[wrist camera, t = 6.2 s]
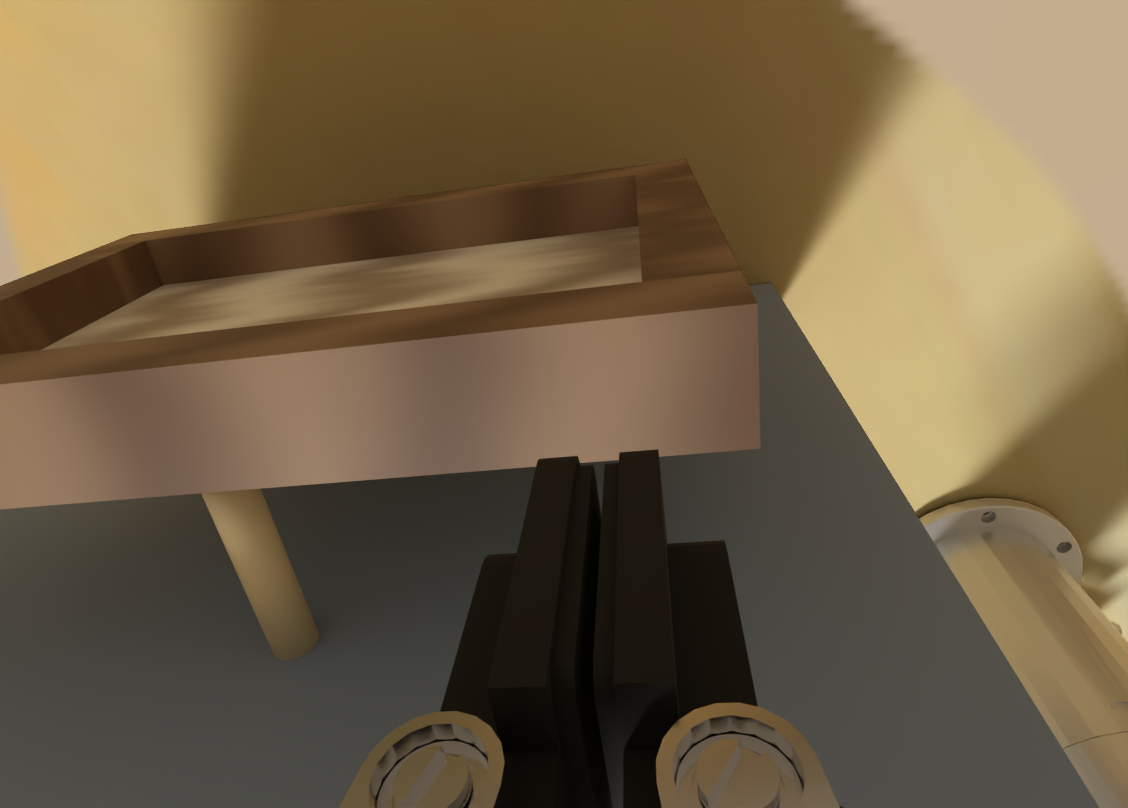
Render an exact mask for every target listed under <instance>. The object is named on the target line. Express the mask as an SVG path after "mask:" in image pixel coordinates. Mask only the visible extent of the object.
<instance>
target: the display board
mask: <svg viewBox="0 0 1128 808" xmlns="http://www.w3.org/2000/svg"><path fill="white" fill-rule="evenodd" d="M749 287H750V289H751V291H752V293H753V295H754V297H755V299H756V301H757V303H758V347H759V398H760V449H750V450H738V451H725V452H713V453H700V454H688V455H675V456H663V457H659V460H660V471H661V481H662V492H663V502H664V513H665V523H666V534H667V544H670V543H686V542H702V541H718V540H724V541H725V543H726V547H727V552H728V557H729V562H730V567H731V572H732V577H733V582H734V587H735V592H736V597H737V603H738V608H739V613H740V618H741V623H742V628H743V633H744V638H745V643H746V648H747V653H748V659H749V664H750V669H751V674H752V679H753V684H754V689H755V694H756V699H757V704H758V707H761V708H764V709H766V710H768V711H770V712H772V713H774V714H776V715H778V716H780V717H782V718H784V719H786V720H787V721H788V722H789V723H790V724H791V725H793V726H794V727H795V728H796V729H797V730H798V731H799V732H800V733H802V734H803V735H804V736H805V738H806V739H807V741H808V743H809V744H810V746H811V747H812V749H813V750H814V752H815V754H816V755H817V757H818V759H819V761H820V763H821V766H822V768H823V770H824V772H825V775H826V777H827V779H828V781H829V784H830V786H831V788H832V790H833V793H834V795H835V797H836V799H837V802H838V804H839V805H840V806H842V807H843V808H1099V806H1098V804H1097V803H1096V801H1095V800H1094V798H1093V796H1092V795H1091V793H1090V792H1089V790H1088V788H1087V787H1086V785H1085V784H1084V782H1083V780H1082V779H1081V777H1080V776H1079V774H1078V772H1077V771H1076V769H1075V768H1074V766H1073V764H1072V763H1071V761H1070V760H1069V758H1068V756H1067V755H1066V753H1065V752H1064V750H1063V748H1062V747H1061V745H1060V744H1059V742H1058V740H1057V739H1056V737H1055V736H1054V734H1053V732H1052V731H1051V729H1050V728H1049V726H1048V724H1047V723H1046V721H1045V720H1044V718H1043V716H1042V715H1041V713H1040V712H1039V710H1038V708H1037V707H1036V705H1035V704H1034V702H1033V700H1032V699H1031V697H1030V696H1029V694H1028V692H1027V691H1026V689H1025V688H1024V686H1023V684H1022V683H1021V681H1020V680H1019V678H1018V676H1017V675H1016V673H1015V672H1014V670H1013V668H1012V667H1011V665H1010V664H1009V662H1008V660H1007V659H1006V657H1005V656H1004V654H1003V652H1002V651H1001V649H1000V647H999V646H998V644H997V643H996V641H995V639H994V638H993V636H992V635H991V633H990V631H989V630H988V628H987V627H986V625H985V623H984V622H983V620H982V619H981V617H980V615H979V614H978V612H977V611H976V609H975V607H974V606H973V604H972V603H971V601H970V599H969V598H968V596H967V595H966V593H965V591H964V590H963V588H962V587H961V585H960V583H959V582H958V580H957V579H956V577H955V575H954V574H953V572H952V571H951V569H950V567H949V566H948V564H947V563H946V561H945V559H944V558H943V556H942V555H941V553H940V551H939V550H938V548H937V547H936V545H935V543H934V542H933V540H932V539H931V537H930V535H929V534H928V532H927V531H926V529H925V527H924V526H923V524H922V523H921V521H920V519H919V518H918V516H917V515H916V513H915V511H914V510H913V508H912V507H911V505H910V503H909V502H908V500H907V499H906V497H905V495H904V494H903V492H902V491H901V489H900V487H899V486H898V484H897V483H896V481H895V479H894V478H893V476H892V475H891V473H890V471H889V470H888V468H887V467H886V465H885V463H884V462H883V460H882V459H881V457H880V455H879V454H878V452H877V451H876V449H875V447H874V446H873V444H872V443H871V441H870V439H869V438H868V436H867V434H866V433H865V431H864V430H863V428H862V426H861V425H860V423H859V422H858V420H857V418H856V417H855V415H854V414H853V412H852V410H851V409H850V407H849V406H848V404H847V402H846V401H845V399H844V398H843V396H842V394H841V393H840V391H839V390H838V388H837V386H836V385H835V383H834V382H833V380H832V378H831V377H830V375H829V374H828V372H827V370H826V369H825V367H824V366H823V364H822V362H821V361H820V359H819V358H818V356H817V354H816V353H815V351H814V350H813V348H812V346H811V345H810V343H809V342H808V340H807V338H806V337H805V335H804V334H803V332H802V330H801V329H800V327H799V326H798V324H797V322H796V321H795V319H794V318H793V316H792V314H791V313H790V311H789V310H788V308H787V306H786V305H785V303H784V302H783V300H782V298H781V297H780V295H779V294H778V292H777V290H776V289H775V287H774V286H773V284H772V283H765V284H756V285H749ZM609 463H619V460H612V461H600V462H587V463H580V466H584V465H593V466H594V469H595V475H596V482H597V489H598V496H599V503H600V510H601V517H602V500H603V483H604V467H605V464H609ZM535 470H536V467H525V468H512V469H500V470H487V471H474V472H462V473H449V474H437V475H424V476H412V477H399V478H387V479H374V480H362V481H349V482H337V483H324V484H312V485H299V486H286V487H274V488H261V489H249V490H236V491H224V492H211V493H199V494H186V495H174V496H161V497H149V498H136V499H123V500H111V501H98V502H86V503H73V504H61V505H48V506H36V507H23V508H11V509H0V808H339V807H340V805H341V803H342V801H343V799H344V797H345V795H346V794H347V792H348V790H349V788H350V786H351V784H352V782H353V780H354V778H355V777H356V775H357V773H358V771H359V769H360V767H361V765H362V764H363V763H364V761H365V760H366V758H367V757H368V755H369V754H370V753H371V751H372V750H373V748H374V747H375V746H376V745H377V744H378V743H379V742H380V741H381V740H382V739H384V738H385V737H386V736H387V735H388V734H389V733H390V732H391V731H392V730H394V729H396V728H397V727H399V726H401V725H403V724H405V723H406V722H408V721H410V720H412V719H413V718H416V717H420V716H423V715H427V714H430V713H433V712H440V710H441V706H442V703H443V699H444V696H445V692H446V689H447V685H448V682H449V678H450V675H451V671H452V668H453V664H454V661H455V657H456V654H457V650H458V647H459V643H460V640H461V636H462V633H463V629H464V626H465V622H466V619H467V615H468V612H469V609H470V605H471V602H472V598H473V595H474V591H475V588H476V584H477V581H478V577H479V574H480V570H481V567H482V564H483V561H484V559H485V557H487V556H488V555H491V554H508V553H517V550H518V546H519V541H520V537H521V532H522V528H523V523H524V519H525V514H526V510H527V505H528V501H529V496H530V492H531V487H532V483H533V479H534V474H535Z"/></svg>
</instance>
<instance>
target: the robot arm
mask: <svg viewBox="0 0 1128 808" xmlns="http://www.w3.org/2000/svg"><path fill="white" fill-rule="evenodd" d="M919 519H920V521H921V523H922V524H923V526H924V527H925V529H926V531H927V532H928V534H929V535H930V537H931V539H932V540H933V542H934V543H935V545H936V547H937V548H938V550H939V551H940V553H941V555H942V556H943V558H944V559H945V561H946V563H947V564H948V566H949V567H950V569H951V571H952V572H953V574H954V575H955V577H956V579H957V580H958V582H959V583H960V585H961V587H962V588H963V590H964V591H965V593H966V595H967V596H968V598H969V599H970V601H971V603H972V604H973V606H974V607H975V609H976V611H977V612H978V614H979V615H980V617H981V619H982V620H983V622H984V623H985V625H986V627H987V628H988V630H989V631H990V633H991V635H992V636H993V638H994V639H995V641H996V643H997V644H998V646H999V647H1000V649H1001V651H1002V652H1003V654H1004V656H1005V657H1006V659H1007V660H1008V662H1009V664H1010V665H1011V667H1012V668H1013V670H1014V672H1015V673H1016V675H1017V676H1018V678H1019V680H1020V681H1021V683H1022V684H1023V686H1024V688H1025V689H1026V691H1027V692H1028V694H1029V696H1030V697H1031V699H1032V700H1033V702H1034V704H1035V705H1036V707H1037V708H1038V710H1039V712H1040V713H1041V715H1042V716H1043V718H1044V720H1045V721H1046V723H1047V724H1048V726H1049V728H1050V729H1051V731H1052V732H1053V734H1054V736H1055V737H1056V739H1057V740H1058V742H1059V744H1060V745H1061V747H1062V748H1063V750H1064V752H1065V753H1066V755H1067V756H1068V758H1069V760H1070V761H1071V763H1072V764H1073V766H1074V768H1075V769H1076V771H1077V772H1078V774H1079V776H1080V777H1081V779H1082V780H1083V782H1084V784H1085V785H1086V787H1087V788H1088V790H1089V792H1090V793H1091V795H1092V796H1093V798H1094V800H1095V801H1096V803H1097V804H1098V806H1099V808H1128V642H1127V640H1126V639H1125V638H1124V637H1123V636H1122V630H1121V628H1120V626H1119V625H1118V624H1116V623H1115V622H1112V621H1110V620H1109V619H1108V618H1107V617H1106V616H1105V614H1104V613H1103V612H1102V611H1101V610H1100V608H1099V607H1098V606H1097V605H1096V604H1095V603H1094V601H1093V600H1092V599H1091V598H1090V597H1089V595H1088V594H1087V593H1086V592H1085V591H1084V590H1083V588H1082V587H1081V586H1080V582H1081V578H1082V574H1083V557H1082V554H1081V551H1080V548H1079V545H1078V543H1077V541H1076V540H1075V538H1074V537H1073V535H1072V534H1071V532H1070V531H1069V530H1068V529H1067V528H1066V527H1065V526H1064V525H1063V524H1062V523H1061V522H1060V521H1059V520H1058V519H1057V518H1056V517H1055V516H1053V515H1052V514H1050V513H1049V512H1047V511H1046V510H1044V509H1042V508H1040V507H1037V506H1035V505H1032V504H1030V503H1027V502H1023V501H1018V500H1013V499H1005V498H982V499H973V500H966V501H962V502H958V503H954V504H951V505H947V506H945V507H942V508H940V509H937V510H935V511H932V512H930V513H928V514H926V515H924V516H923V517H921V518H919ZM339 808H843V807H842V806H840V805H839V804H838V802H837V799H836V797H835V795H834V793H833V790H832V788H831V786H830V784H829V781H828V779H827V777H826V775H825V772H824V770H823V768H822V766H821V763H820V761H819V759H818V757H817V755H816V754H815V752H814V750H813V749H812V747H811V746H810V744H809V743H808V741H807V739H806V738H805V736H804V735H803V734H802V733H800V732H799V731H798V730H797V729H796V728H795V727H794V726H793V725H791V724H790V723H789V722H788V721H787V720H786V719H784V718H782V717H780V716H778V715H776V714H774V713H772V712H770V711H768V710H766V709H764V708H761V707H758V704H757V699H756V694H755V689H754V684H753V679H752V674H751V669H750V664H749V659H748V653H747V648H746V643H745V638H744V633H743V628H742V623H741V618H740V613H739V608H738V603H737V597H736V592H735V587H734V582H733V577H732V572H731V567H730V562H729V557H728V552H727V547H726V543H725V541H724V540H718V541H702V542H686V543H670V544H667V534H666V523H665V513H664V502H663V492H662V481H661V471H660V460H659V451H658V449H655V450H643V451H630V452H620V453H619V463H609V464H605V467H604V483H603V500H602V517H601V510H600V503H599V496H598V489H597V482H596V475H595V469H594V466H593V465H584V466H580V462H579V458H578V456H568V457H556V458H543V459H538V462H537V465H536V470H535V474H534V479H533V483H532V487H531V492H530V496H529V501H528V505H527V510H526V514H525V519H524V523H523V528H522V532H521V537H520V541H519V546H518V550H517V553H508V554H491V555H488V556H487V557H485V559H484V561H483V564H482V567H481V570H480V574H479V577H478V581H477V584H476V588H475V591H474V595H473V598H472V602H471V605H470V609H469V612H468V615H467V619H466V622H465V626H464V629H463V633H462V636H461V640H460V643H459V647H458V650H457V654H456V657H455V661H454V664H453V668H452V671H451V675H450V678H449V682H448V685H447V689H446V692H445V696H444V699H443V703H442V706H441V710H440V712H433V713H430V714H427V715H423V716H420V717H416V718H413V719H412V720H410V721H408V722H406V723H405V724H403V725H401V726H399V727H397V728H396V729H394V730H392V731H391V732H390V733H389V734H388V735H387V736H386V737H385V738H384V739H382V740H381V741H380V742H379V743H378V744H377V745H376V746H375V747H374V748H373V750H372V751H371V753H370V754H369V755H368V757H367V758H366V760H365V761H364V763H363V764H362V765H361V767H360V769H359V771H358V773H357V775H356V777H355V778H354V780H353V782H352V784H351V786H350V788H349V790H348V792H347V794H346V795H345V797H344V799H343V801H342V803H341V805H340V807H339Z"/></svg>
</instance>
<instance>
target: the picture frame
mask: <svg viewBox="0 0 1128 808" xmlns="http://www.w3.org/2000/svg"><path fill="white" fill-rule="evenodd" d="M655 449H658V451H659V457H663V456H675V455H688V454H700V453H713V452H725V451H738V450H750V449H760V398H759V347H758V303H757V301H756V299H755V297H754V295H753V293H752V291H751V289H750V287H749V285H748V283H747V281H746V279H745V277H744V275H743V273H742V271H741V269H740V267H739V265H738V263H737V261H736V259H735V257H734V255H733V253H732V251H731V249H730V247H729V245H728V243H727V241H726V239H725V237H724V235H723V233H722V231H721V229H720V227H719V225H718V223H717V221H716V219H715V217H714V215H713V213H712V211H711V209H710V207H709V205H708V203H707V201H706V199H705V197H704V195H703V193H702V191H701V189H700V187H699V185H698V183H697V181H696V179H695V177H694V175H693V173H692V171H691V169H690V167H689V165H688V163H687V161H686V159H684V160H677V161H669V162H662V163H654V164H647V165H640V166H632V167H625V168H618V169H610V170H603V171H596V172H588V173H581V174H574V175H566V176H559V177H552V178H544V179H537V180H529V181H522V182H515V183H507V184H500V185H493V186H485V187H478V188H471V189H463V190H456V191H449V192H441V193H434V194H426V195H419V196H412V197H404V198H397V199H390V200H382V201H375V202H368V203H360V204H353V205H346V206H338V207H331V208H323V209H316V210H309V211H301V212H294V213H287V214H279V215H272V216H265V217H257V218H250V219H243V220H235V221H228V222H220V223H213V224H206V225H198V226H191V227H184V228H176V229H169V230H162V231H154V232H147V233H140V234H132V235H129V236H127V237H124V238H122V239H119V240H116V241H114V242H111V243H109V244H106V245H104V246H101V247H99V248H96V249H93V250H91V251H88V252H86V253H83V254H81V255H78V256H76V257H73V258H70V259H68V260H65V261H63V262H60V263H58V264H55V265H53V266H50V267H48V268H45V269H42V270H40V271H37V272H35V273H32V274H30V275H27V276H25V277H22V278H19V279H17V280H15V281H12V282H9V283H7V284H4V285H2V286H0V509H11V508H23V507H36V506H48V505H61V504H73V503H86V502H98V501H111V500H123V499H136V498H149V497H161V496H174V495H186V494H199V493H211V492H224V491H236V490H249V489H261V488H274V487H286V486H299V485H312V484H324V483H337V482H349V481H362V480H374V479H387V478H399V477H412V476H424V475H437V474H449V473H462V472H474V471H487V470H500V469H512V468H525V467H536V465H537V462H538V459H543V458H556V457H568V456H578V458H579V462H580V463H587V462H600V461H612V460H619V453H620V452H630V451H643V450H655Z"/></svg>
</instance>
